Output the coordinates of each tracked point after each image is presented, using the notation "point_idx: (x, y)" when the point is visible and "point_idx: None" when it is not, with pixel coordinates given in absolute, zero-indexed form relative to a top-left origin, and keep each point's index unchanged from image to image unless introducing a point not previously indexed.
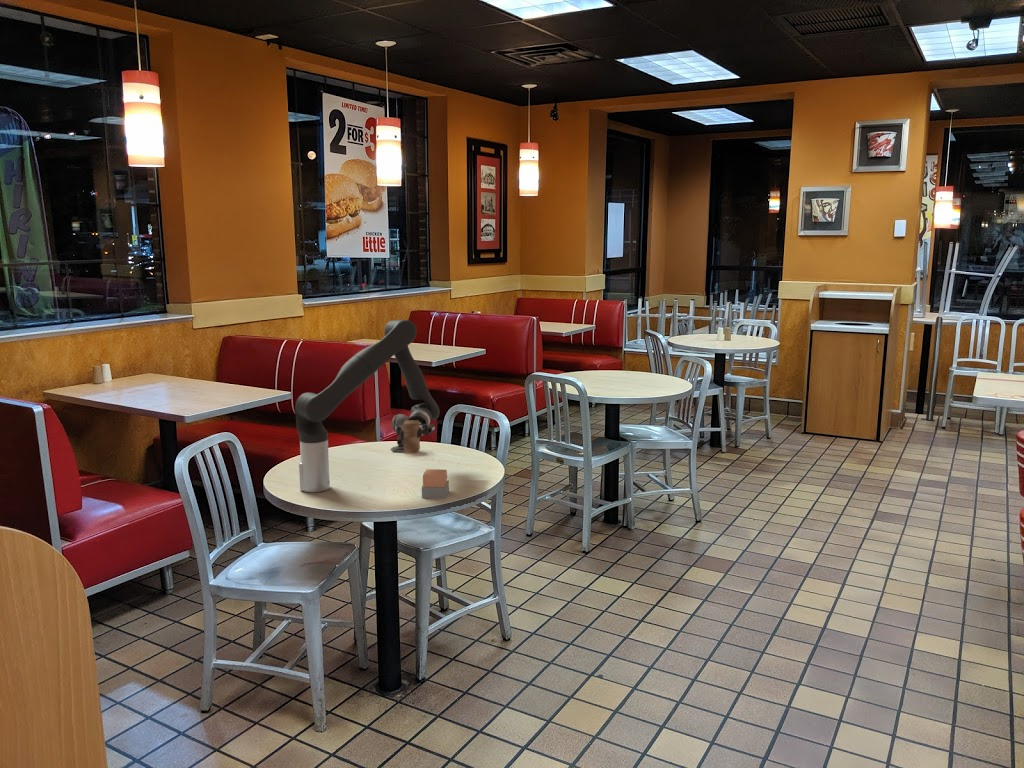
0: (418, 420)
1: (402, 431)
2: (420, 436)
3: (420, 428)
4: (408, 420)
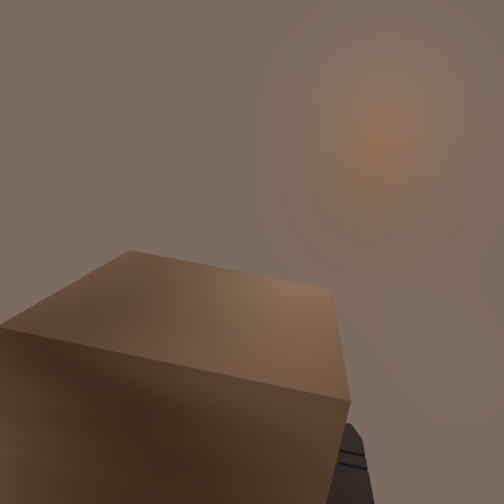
0: (23, 319)
1: None
2: None
3: None
4: (266, 370)
